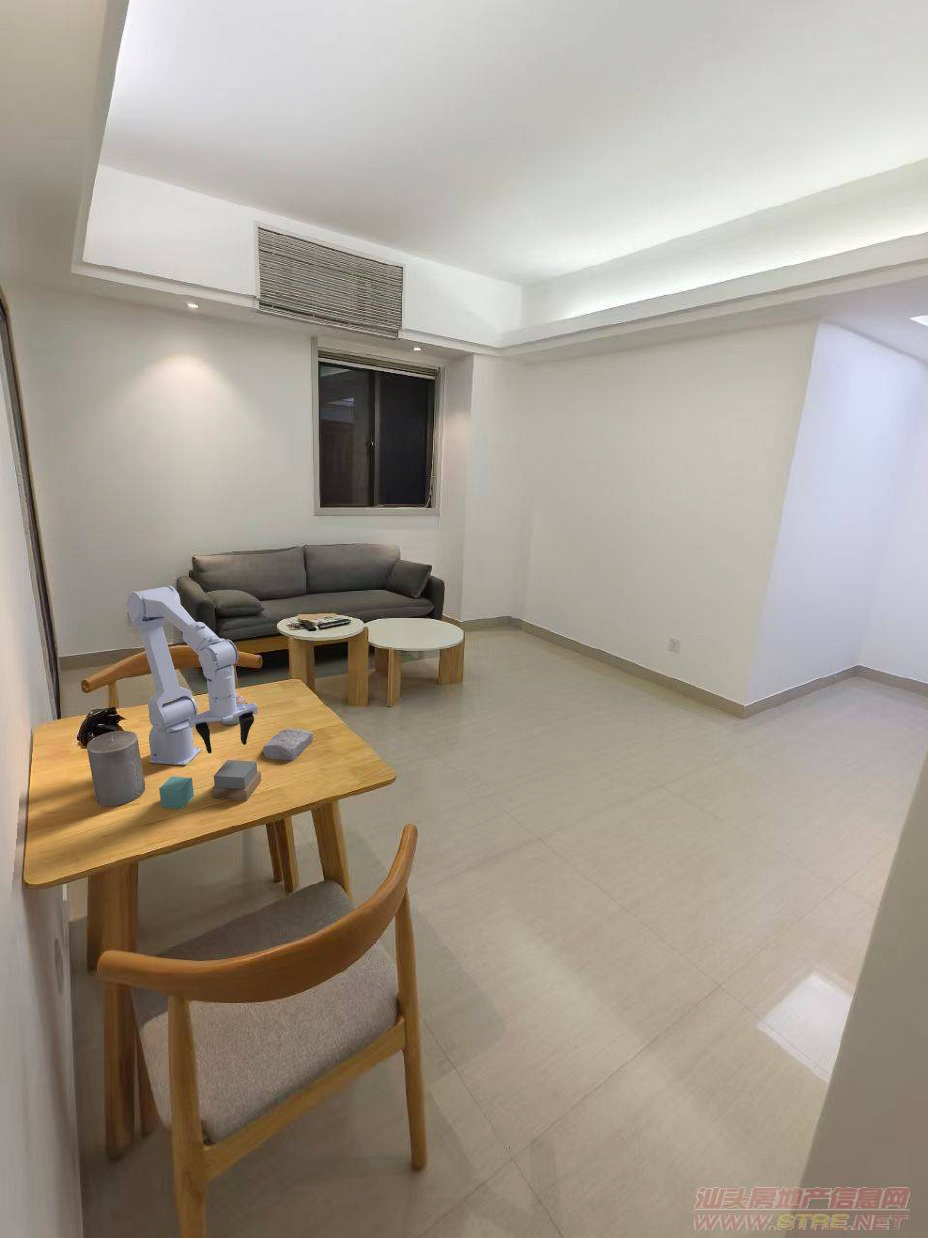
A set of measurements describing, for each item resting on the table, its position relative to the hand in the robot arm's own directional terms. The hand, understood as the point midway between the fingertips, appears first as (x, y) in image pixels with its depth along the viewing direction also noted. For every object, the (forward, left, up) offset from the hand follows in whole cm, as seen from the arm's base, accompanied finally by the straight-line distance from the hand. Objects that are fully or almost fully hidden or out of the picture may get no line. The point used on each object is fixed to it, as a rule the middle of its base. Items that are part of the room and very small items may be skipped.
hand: (226, 747), depth 130 cm
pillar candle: (-22, -7, -10) cm, 25 cm away
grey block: (+3, -2, -7) cm, 8 cm away
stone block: (+7, +18, -10) cm, 22 cm away
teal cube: (-8, -8, -10) cm, 15 cm away
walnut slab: (+3, -2, -10) cm, 11 cm away
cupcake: (-14, +31, -10) cm, 35 cm away
